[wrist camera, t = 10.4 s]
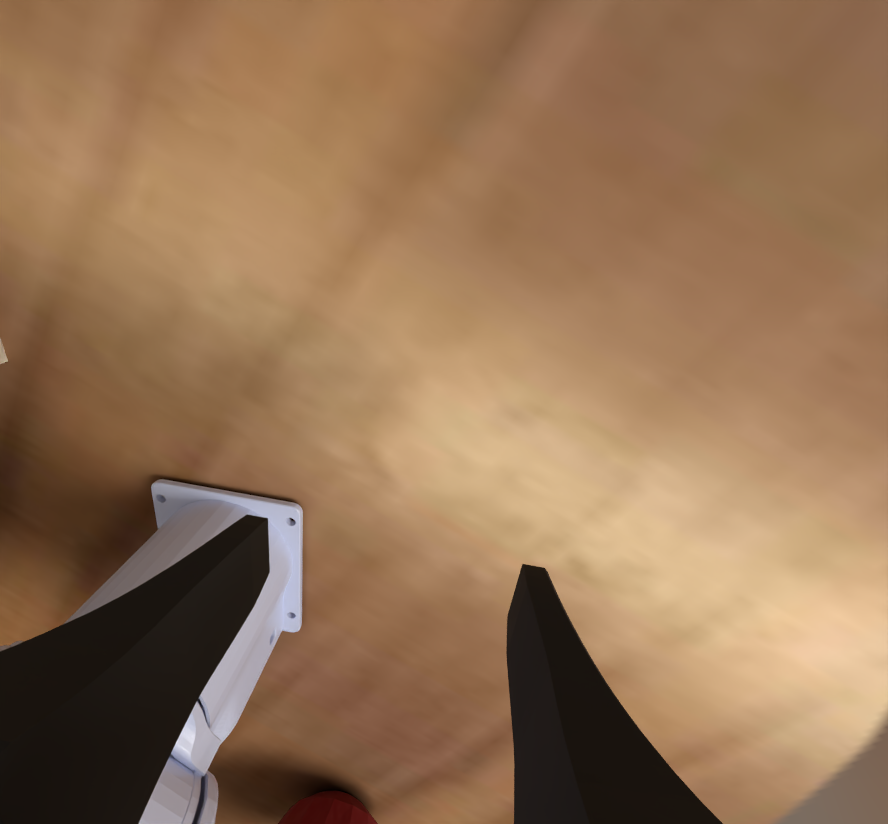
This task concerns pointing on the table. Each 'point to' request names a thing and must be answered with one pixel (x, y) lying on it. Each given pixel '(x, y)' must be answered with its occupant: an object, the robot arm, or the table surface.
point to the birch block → (2, 354)
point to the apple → (328, 810)
